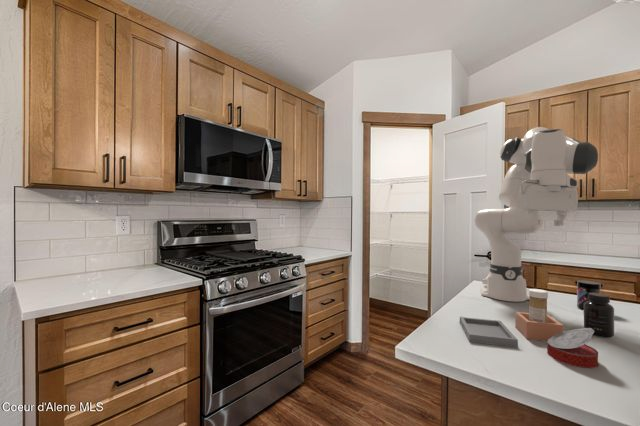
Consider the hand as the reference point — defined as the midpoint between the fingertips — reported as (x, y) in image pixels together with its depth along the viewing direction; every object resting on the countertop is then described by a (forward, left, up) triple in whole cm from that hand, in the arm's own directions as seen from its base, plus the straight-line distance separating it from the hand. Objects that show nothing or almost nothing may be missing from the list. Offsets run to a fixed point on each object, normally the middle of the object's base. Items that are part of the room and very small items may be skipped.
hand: (547, 225), depth 91 cm
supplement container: (-32, +26, -33) cm, 53 cm away
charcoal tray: (+7, -19, -33) cm, 38 cm away
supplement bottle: (-3, +15, -33) cm, 37 cm away
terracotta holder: (+3, -4, -33) cm, 33 cm away
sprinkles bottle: (+3, -4, -33) cm, 33 cm away
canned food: (+18, -2, -33) cm, 38 cm away
